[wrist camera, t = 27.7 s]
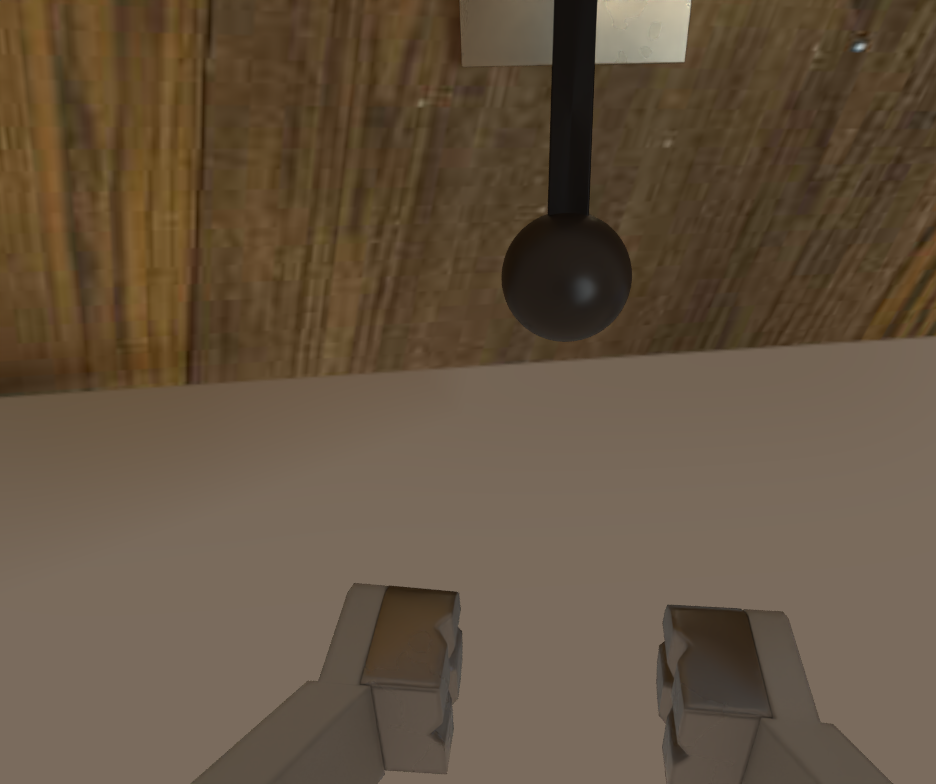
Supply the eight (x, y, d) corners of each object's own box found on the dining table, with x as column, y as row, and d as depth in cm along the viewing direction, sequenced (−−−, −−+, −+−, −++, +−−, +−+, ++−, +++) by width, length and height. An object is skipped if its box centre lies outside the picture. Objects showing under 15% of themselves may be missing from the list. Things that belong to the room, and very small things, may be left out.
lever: (623, 335, 23) (634, 351, 19) (505, 332, 23) (494, 347, 20) (647, -151, 20) (664, -234, 17) (514, -143, 21) (504, -223, 17)
